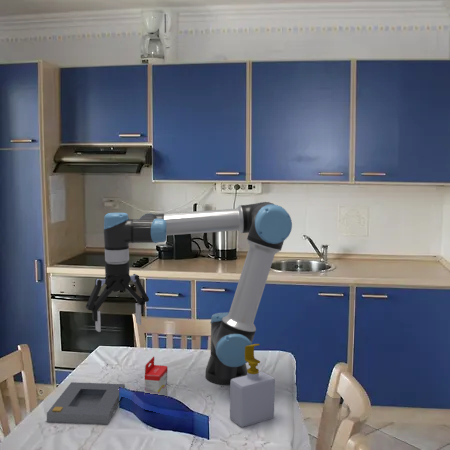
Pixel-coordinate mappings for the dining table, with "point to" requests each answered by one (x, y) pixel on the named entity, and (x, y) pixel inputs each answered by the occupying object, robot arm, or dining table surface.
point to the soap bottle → (252, 394)
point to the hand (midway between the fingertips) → (118, 327)
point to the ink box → (155, 378)
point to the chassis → (86, 403)
